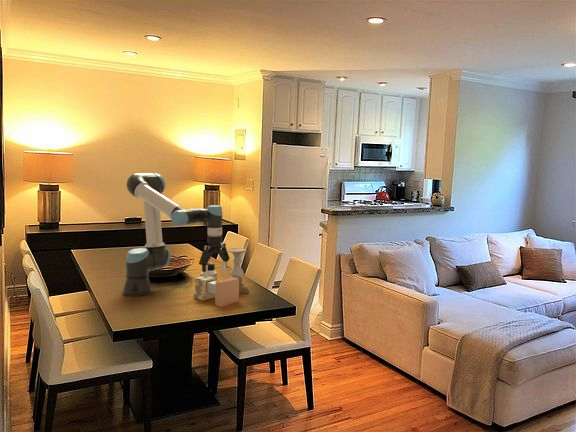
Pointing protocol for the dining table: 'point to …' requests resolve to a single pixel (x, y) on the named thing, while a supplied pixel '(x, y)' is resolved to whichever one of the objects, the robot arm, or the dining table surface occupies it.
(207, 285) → the slip bar
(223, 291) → the socket block
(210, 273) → the container
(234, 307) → the dining table surface
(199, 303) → the dining table surface
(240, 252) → the candle holder
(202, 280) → the white blocky piece
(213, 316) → the dining table surface
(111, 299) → the dining table surface
